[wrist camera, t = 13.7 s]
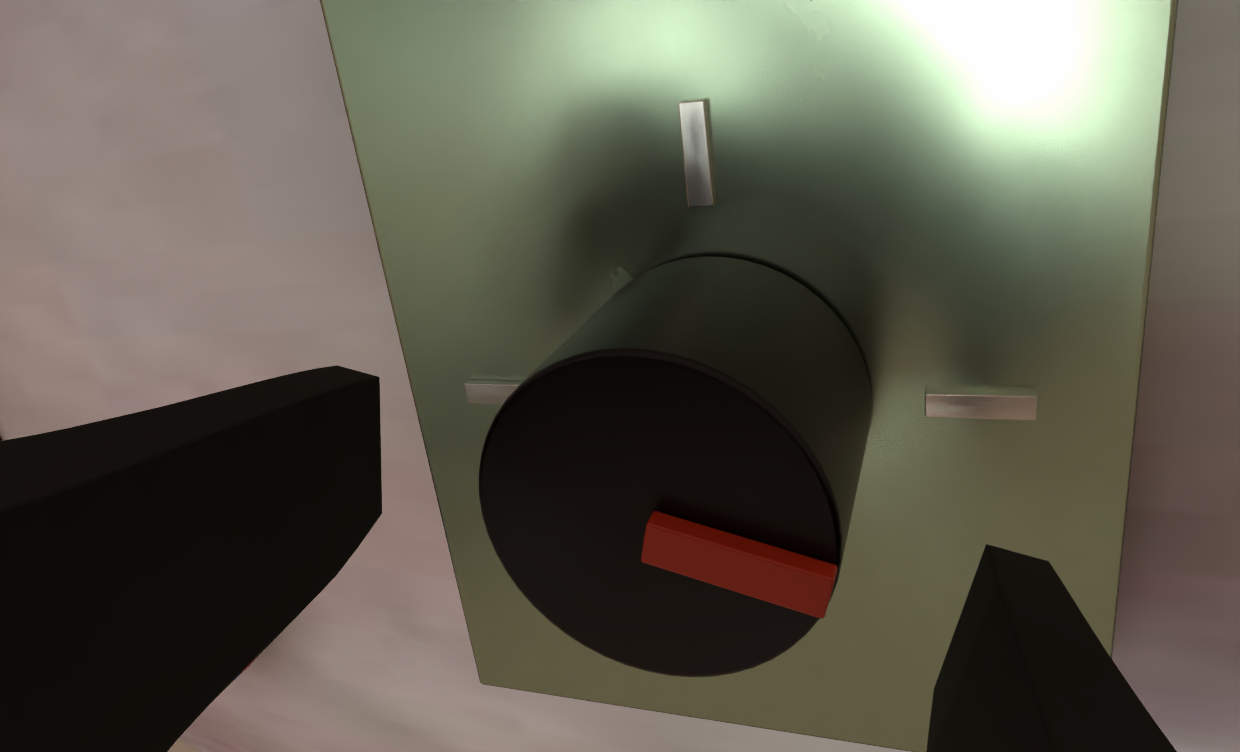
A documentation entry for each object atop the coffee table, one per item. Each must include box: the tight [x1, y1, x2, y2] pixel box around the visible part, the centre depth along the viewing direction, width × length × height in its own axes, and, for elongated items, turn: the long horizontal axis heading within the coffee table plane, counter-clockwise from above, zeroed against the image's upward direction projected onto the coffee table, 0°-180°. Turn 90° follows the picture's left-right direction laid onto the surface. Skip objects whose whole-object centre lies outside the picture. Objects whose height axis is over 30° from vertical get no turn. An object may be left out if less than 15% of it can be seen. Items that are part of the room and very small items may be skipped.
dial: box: [479, 256, 872, 677], centre depth 12 cm, size 4×4×4 cm
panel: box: [320, 0, 1178, 752], centre depth 15 cm, size 13×11×3 cm
